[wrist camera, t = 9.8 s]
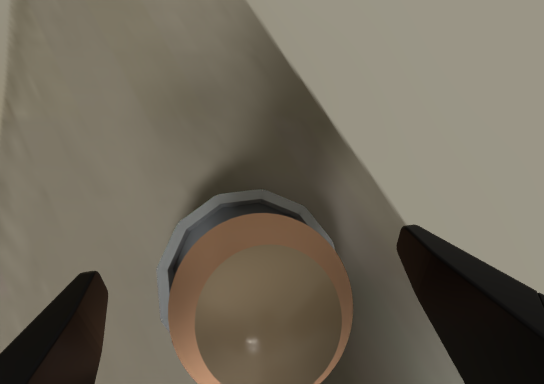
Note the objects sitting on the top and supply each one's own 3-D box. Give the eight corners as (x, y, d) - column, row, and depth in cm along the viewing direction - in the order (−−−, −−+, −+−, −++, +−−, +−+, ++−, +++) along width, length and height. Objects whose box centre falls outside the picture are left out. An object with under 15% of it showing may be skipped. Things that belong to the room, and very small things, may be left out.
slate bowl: (358, 288, 22) (374, 293, 19) (233, 400, 20) (233, 421, 17) (263, 168, 22) (266, 157, 20) (134, 263, 20) (120, 264, 18)
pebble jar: (312, 306, 20) (418, 385, 8) (221, 346, 19) (195, 498, 7) (277, 217, 21) (330, 174, 9) (189, 251, 20) (118, 251, 8)
